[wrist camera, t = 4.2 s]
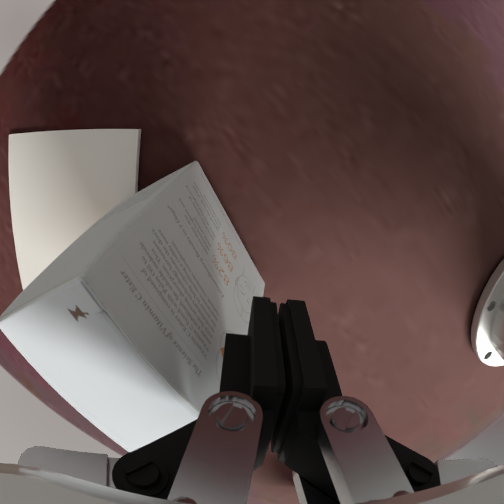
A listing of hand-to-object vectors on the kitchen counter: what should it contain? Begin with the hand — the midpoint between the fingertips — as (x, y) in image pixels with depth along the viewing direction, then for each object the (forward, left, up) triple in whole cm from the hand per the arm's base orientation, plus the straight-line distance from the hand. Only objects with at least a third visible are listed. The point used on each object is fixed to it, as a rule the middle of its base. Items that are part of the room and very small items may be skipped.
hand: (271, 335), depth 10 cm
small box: (+4, 0, -8) cm, 9 cm away
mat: (+13, 0, -8) cm, 15 cm away
